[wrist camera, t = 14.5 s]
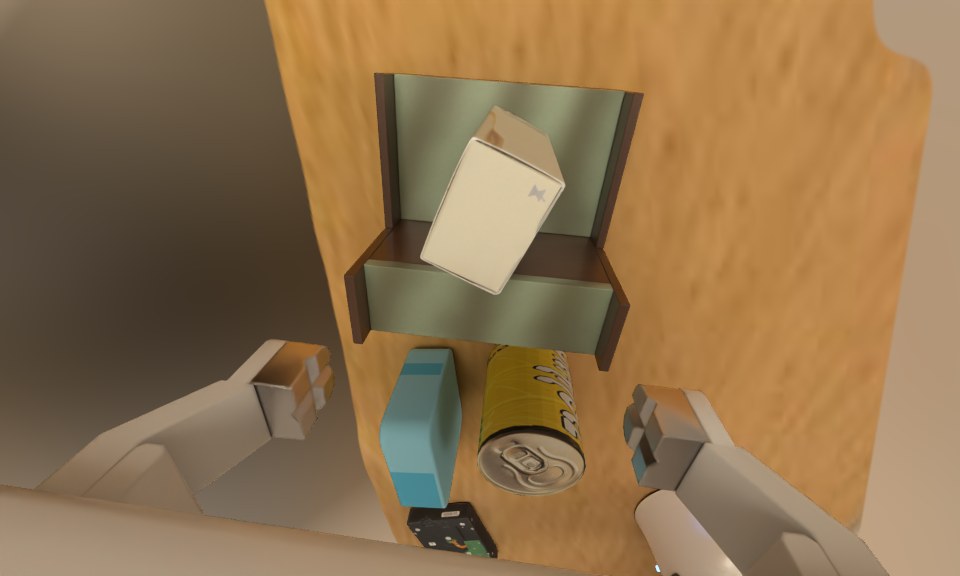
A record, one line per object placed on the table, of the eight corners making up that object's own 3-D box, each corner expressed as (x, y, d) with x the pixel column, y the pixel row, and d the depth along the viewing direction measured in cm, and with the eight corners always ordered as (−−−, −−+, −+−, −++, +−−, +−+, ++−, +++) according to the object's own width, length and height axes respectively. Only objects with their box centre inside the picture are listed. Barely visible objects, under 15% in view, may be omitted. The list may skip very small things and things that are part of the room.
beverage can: (529, 406, 44) (532, 508, 33) (471, 367, 41) (455, 463, 31) (585, 365, 40) (609, 467, 29) (525, 320, 37) (527, 413, 27)
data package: (411, 342, 40) (374, 433, 30) (451, 342, 40) (427, 435, 29) (428, 415, 46) (402, 513, 36) (463, 416, 46) (446, 515, 35)
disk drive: (409, 505, 58) (444, 552, 64) (404, 524, 55) (441, 571, 62) (469, 498, 55) (499, 548, 62) (467, 518, 53) (498, 567, 59)
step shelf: (619, 89, 26) (699, 101, 15) (577, 271, 34) (608, 372, 22) (401, 73, 27) (313, 71, 15) (408, 254, 35) (353, 343, 23)
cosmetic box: (493, 102, 24) (473, 123, 13) (550, 133, 25) (573, 177, 14) (454, 189, 27) (414, 261, 17) (506, 214, 28) (498, 299, 17)
